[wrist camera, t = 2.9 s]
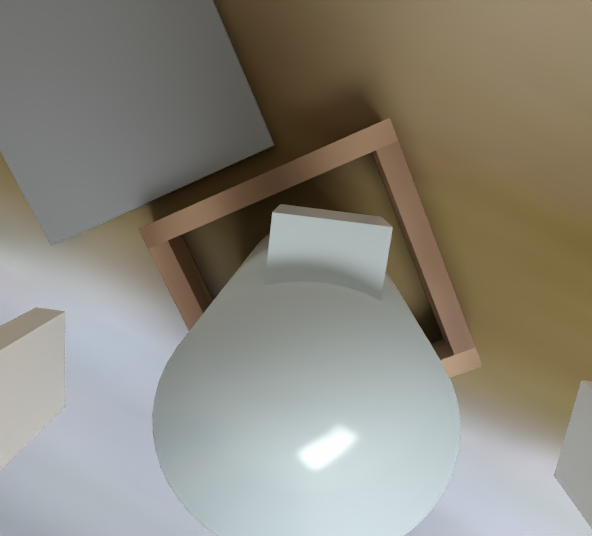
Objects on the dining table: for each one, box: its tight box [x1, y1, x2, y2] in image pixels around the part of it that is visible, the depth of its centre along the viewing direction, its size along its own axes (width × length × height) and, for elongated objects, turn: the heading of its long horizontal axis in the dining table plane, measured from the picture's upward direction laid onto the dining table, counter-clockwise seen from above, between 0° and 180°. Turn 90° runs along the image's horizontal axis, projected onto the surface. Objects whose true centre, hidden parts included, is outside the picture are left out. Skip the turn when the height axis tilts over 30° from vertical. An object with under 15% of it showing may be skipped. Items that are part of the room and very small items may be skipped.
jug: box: [153, 204, 460, 536], centre depth 17 cm, size 13×7×13 cm, turn 173°
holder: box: [139, 118, 482, 378], centre depth 22 cm, size 12×12×2 cm
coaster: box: [0, 0, 275, 245], centre depth 21 cm, size 12×12×1 cm
